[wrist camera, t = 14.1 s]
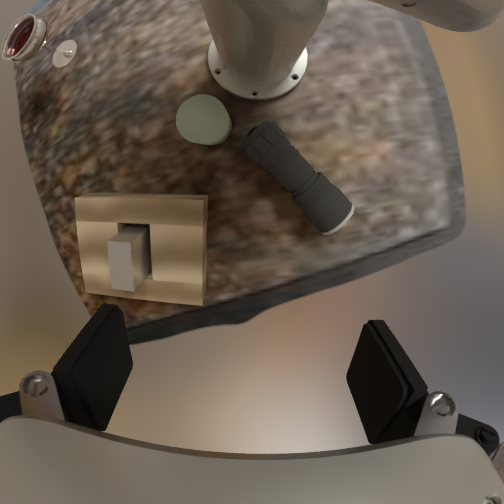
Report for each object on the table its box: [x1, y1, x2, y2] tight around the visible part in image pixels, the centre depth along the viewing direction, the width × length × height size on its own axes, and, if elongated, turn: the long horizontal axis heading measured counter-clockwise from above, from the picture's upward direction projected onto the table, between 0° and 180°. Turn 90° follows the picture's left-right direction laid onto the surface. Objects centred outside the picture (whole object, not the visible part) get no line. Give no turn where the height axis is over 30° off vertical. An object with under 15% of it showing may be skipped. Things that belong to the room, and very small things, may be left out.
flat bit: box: [107, 223, 152, 292], centre depth 34 cm, size 6×3×9 cm, turn 174°
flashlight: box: [240, 120, 354, 235], centre depth 33 cm, size 15×5×5 cm, turn 46°
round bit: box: [176, 94, 232, 145], centre depth 29 cm, size 5×5×9 cm
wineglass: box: [1, 14, 77, 68], centre depth 22 cm, size 7×7×12 cm
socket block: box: [75, 193, 208, 305], centre depth 36 cm, size 14×18×4 cm
